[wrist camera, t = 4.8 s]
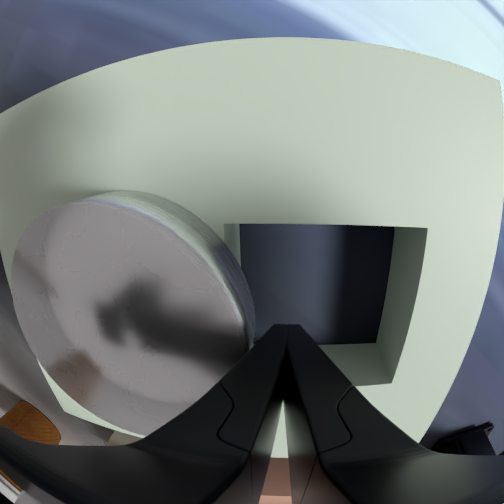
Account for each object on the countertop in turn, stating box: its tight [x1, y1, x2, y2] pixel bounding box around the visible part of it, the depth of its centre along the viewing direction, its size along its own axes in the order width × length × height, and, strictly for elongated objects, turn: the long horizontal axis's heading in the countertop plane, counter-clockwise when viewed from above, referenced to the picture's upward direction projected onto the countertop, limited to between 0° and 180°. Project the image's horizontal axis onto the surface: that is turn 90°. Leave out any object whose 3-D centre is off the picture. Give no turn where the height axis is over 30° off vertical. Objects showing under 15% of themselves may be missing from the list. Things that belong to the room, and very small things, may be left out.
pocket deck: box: [0, 37, 504, 458], centre depth 11 cm, size 18×22×3 cm
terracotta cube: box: [259, 457, 292, 504], centre depth 15 cm, size 4×4×4 cm
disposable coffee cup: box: [0, 401, 61, 503], centre depth 15 cm, size 10×10×12 cm
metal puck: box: [11, 190, 256, 436], centre depth 9 cm, size 9×9×2 cm
